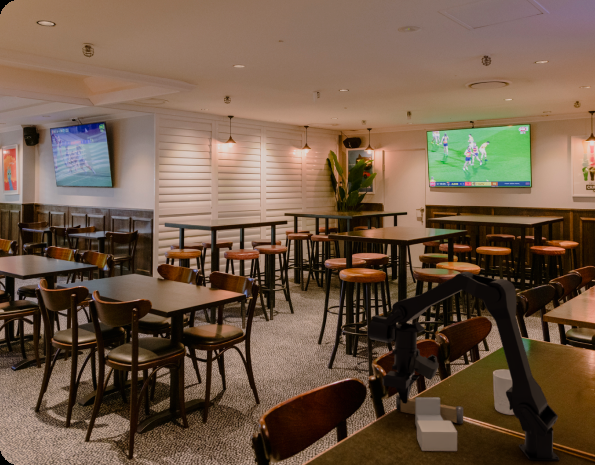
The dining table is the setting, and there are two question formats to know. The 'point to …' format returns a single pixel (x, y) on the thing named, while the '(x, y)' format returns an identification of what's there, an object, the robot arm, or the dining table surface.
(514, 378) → the robot arm
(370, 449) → the dining table surface
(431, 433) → the socket block
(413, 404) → the tan long bar
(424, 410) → the grey l-shaped block
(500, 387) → the white cup
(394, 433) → the dining table surface
